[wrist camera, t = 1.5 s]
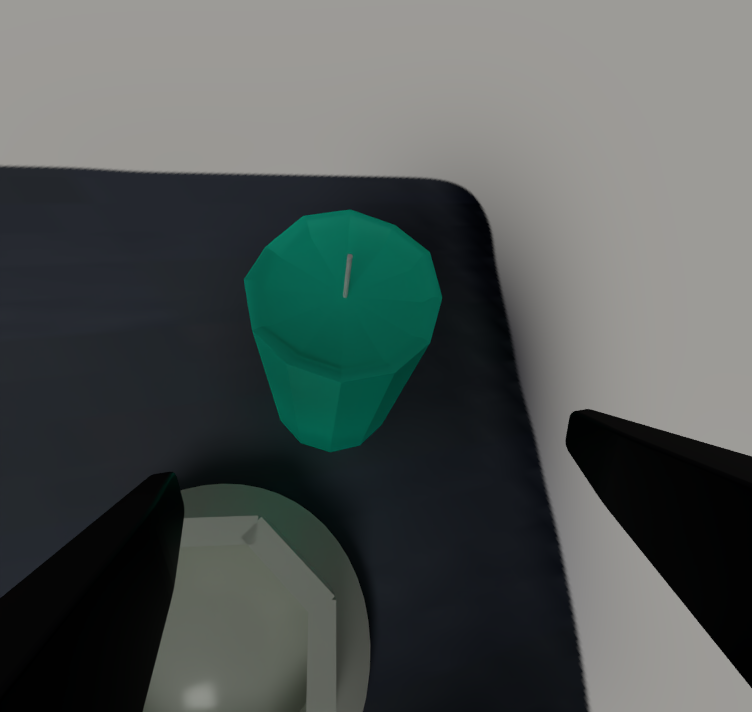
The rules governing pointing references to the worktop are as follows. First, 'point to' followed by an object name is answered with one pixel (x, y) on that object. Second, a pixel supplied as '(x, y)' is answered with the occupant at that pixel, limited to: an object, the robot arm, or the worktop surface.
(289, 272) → the candle
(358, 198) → the worktop surface
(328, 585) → the candle dish
